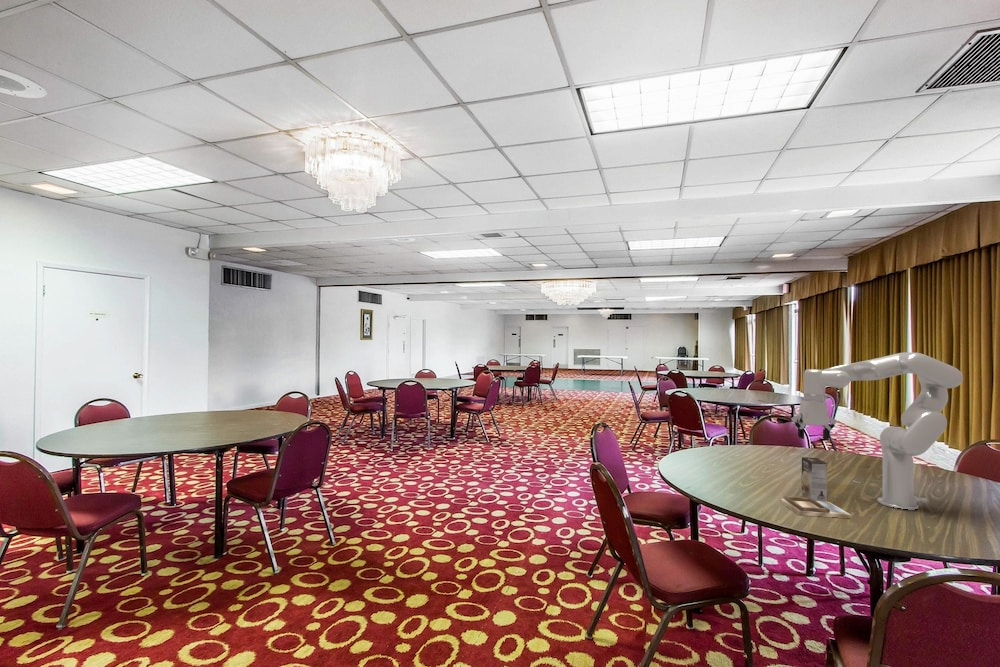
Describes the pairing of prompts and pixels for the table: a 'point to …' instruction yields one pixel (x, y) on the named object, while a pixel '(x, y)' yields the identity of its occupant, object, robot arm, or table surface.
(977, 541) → the table surface
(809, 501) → the build board
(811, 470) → the coffee box
